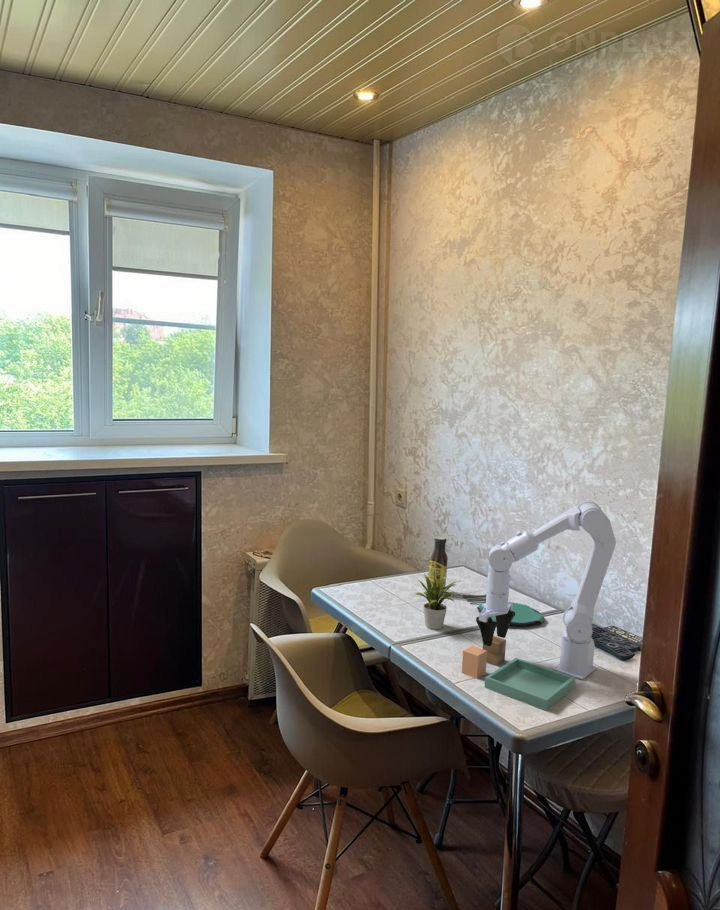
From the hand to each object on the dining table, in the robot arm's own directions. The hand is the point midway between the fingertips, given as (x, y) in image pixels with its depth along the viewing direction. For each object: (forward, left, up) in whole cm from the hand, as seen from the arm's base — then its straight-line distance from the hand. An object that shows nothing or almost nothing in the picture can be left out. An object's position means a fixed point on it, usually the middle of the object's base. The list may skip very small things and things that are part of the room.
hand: (494, 640), depth 175 cm
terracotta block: (+10, 0, -6) cm, 11 cm away
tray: (+7, +14, -6) cm, 17 cm away
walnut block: (0, 0, -6) cm, 6 cm away
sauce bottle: (-35, -42, -6) cm, 55 cm away
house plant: (-8, -24, -6) cm, 26 cm away
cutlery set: (-36, -17, -6) cm, 40 cm away
